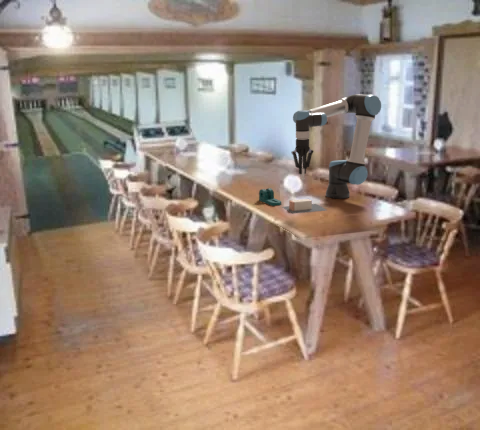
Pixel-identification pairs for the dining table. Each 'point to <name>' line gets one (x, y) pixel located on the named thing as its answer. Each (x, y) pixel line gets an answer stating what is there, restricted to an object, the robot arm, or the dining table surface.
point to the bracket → (268, 197)
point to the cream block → (300, 204)
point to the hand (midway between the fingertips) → (302, 179)
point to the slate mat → (314, 208)
